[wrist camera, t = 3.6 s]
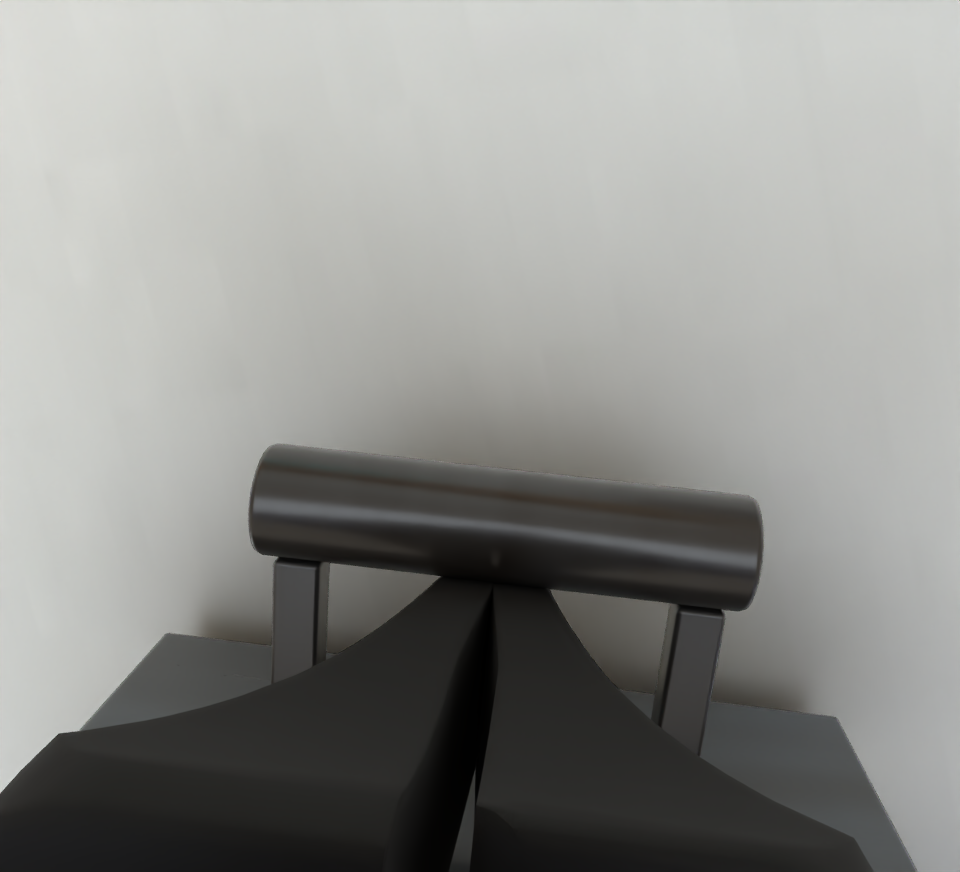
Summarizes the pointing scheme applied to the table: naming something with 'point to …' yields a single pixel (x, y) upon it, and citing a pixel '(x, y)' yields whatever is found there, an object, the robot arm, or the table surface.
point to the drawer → (535, 563)
